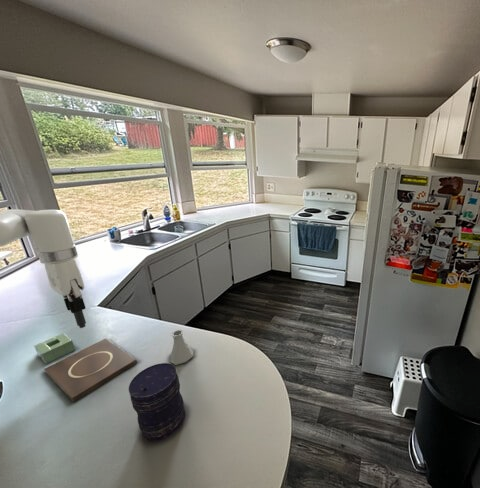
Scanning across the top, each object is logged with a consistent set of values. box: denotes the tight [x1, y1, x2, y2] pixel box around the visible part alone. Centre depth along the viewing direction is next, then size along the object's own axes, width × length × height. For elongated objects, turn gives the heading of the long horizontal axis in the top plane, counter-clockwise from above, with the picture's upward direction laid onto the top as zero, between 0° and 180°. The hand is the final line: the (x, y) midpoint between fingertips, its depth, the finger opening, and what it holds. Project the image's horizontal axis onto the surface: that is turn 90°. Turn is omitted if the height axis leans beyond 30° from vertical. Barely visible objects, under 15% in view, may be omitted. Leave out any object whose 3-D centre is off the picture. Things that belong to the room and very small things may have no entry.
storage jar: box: [128, 362, 187, 443], centre depth 62 cm, size 10×10×15 cm
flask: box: [169, 329, 194, 366], centre depth 84 cm, size 7×7×10 cm
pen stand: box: [33, 333, 76, 365], centre depth 85 cm, size 7×7×4 cm
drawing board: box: [43, 337, 138, 403], centre depth 80 cm, size 16×20×2 cm
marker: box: [71, 293, 87, 329], centre depth 77 cm, size 2×2×12 cm
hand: (76, 309), depth 77 cm, fingers closed on marker, 2 cm apart
